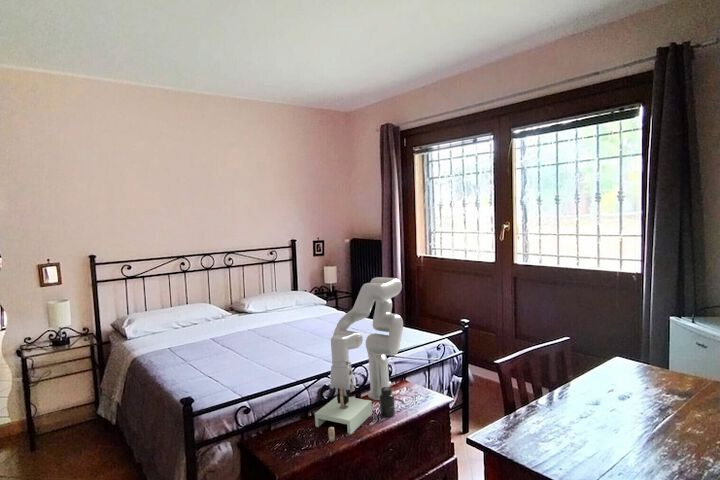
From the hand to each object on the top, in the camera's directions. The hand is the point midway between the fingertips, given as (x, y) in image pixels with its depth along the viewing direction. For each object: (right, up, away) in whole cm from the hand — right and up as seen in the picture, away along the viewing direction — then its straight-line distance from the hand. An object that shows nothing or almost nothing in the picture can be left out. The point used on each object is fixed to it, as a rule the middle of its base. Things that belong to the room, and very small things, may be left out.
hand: (343, 402), depth 195 cm
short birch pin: (-4, -9, -16) cm, 19 cm away
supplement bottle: (+20, -7, +3) cm, 22 cm away
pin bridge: (+1, -8, +1) cm, 8 cm away
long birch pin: (0, -2, 0) cm, 2 cm away
